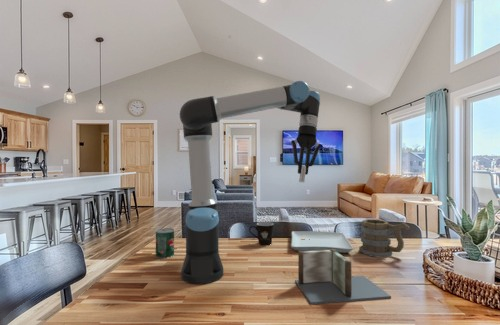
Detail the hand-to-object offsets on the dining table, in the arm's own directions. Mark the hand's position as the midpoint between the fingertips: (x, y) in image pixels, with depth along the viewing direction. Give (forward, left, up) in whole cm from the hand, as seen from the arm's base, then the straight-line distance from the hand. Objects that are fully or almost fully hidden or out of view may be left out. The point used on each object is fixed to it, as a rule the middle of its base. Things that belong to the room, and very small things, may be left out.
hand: (301, 181), depth 113 cm
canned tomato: (-57, +16, -33) cm, 68 cm away
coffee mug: (-11, +27, -33) cm, 44 cm away
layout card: (+4, -26, -33) cm, 42 cm away
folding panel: (+4, -27, -32) cm, 42 cm away
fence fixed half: (-2, -21, -32) cm, 38 cm away
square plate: (+16, +20, -33) cm, 42 cm away
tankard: (+39, +3, -33) cm, 51 cm away
